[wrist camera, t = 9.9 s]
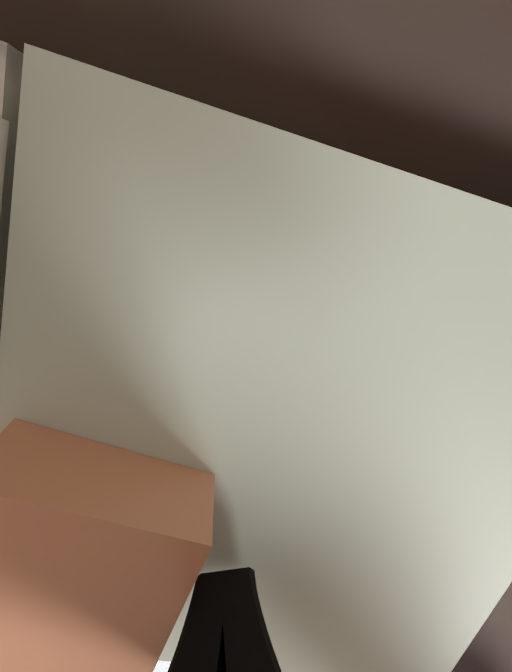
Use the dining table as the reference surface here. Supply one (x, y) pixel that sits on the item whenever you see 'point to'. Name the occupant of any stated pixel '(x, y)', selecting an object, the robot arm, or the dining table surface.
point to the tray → (8, 143)
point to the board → (273, 355)
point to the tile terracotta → (94, 551)
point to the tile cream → (3, 152)
